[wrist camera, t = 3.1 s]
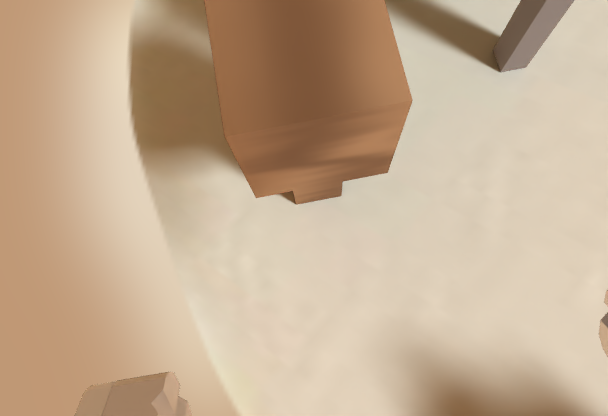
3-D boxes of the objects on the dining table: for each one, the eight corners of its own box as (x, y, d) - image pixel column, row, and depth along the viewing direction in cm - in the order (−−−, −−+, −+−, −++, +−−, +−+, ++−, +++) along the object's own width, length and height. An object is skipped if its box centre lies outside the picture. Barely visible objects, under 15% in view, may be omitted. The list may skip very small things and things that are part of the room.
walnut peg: (351, 126, 32) (370, -51, 17) (372, 215, 30) (412, 100, 16) (259, 144, 32) (201, -19, 17) (274, 234, 30) (224, 136, 16)
